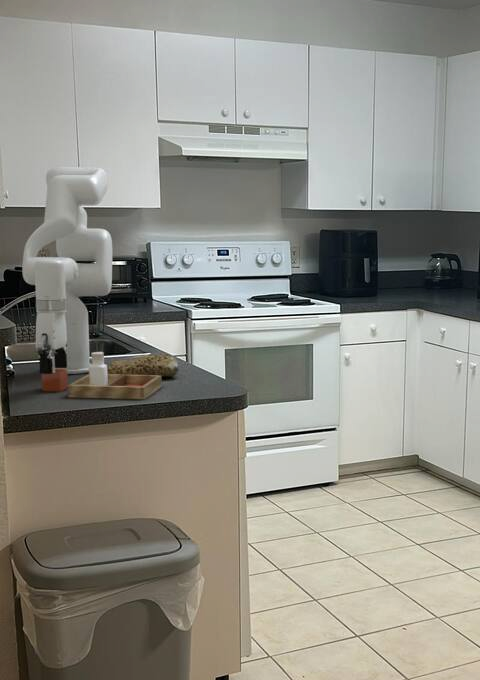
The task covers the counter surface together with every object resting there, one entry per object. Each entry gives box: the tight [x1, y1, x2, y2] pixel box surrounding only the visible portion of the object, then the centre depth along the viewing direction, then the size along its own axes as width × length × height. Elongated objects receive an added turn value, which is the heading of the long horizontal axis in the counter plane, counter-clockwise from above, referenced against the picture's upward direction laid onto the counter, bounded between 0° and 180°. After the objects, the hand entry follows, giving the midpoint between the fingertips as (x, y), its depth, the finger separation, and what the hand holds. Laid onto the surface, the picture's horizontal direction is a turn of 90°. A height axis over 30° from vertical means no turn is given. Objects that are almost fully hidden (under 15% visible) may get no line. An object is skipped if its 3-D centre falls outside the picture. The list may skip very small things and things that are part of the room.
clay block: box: [41, 369, 69, 392], centre depth 239 cm, size 5×5×5 cm
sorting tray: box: [67, 373, 163, 400], centre depth 237 cm, size 20×16×3 cm
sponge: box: [107, 353, 180, 377], centre depth 254 cm, size 13×8×20 cm
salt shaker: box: [88, 351, 108, 386], centre depth 237 cm, size 4×4×10 cm
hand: (53, 370), depth 238 cm, fingers open, 9 cm apart
